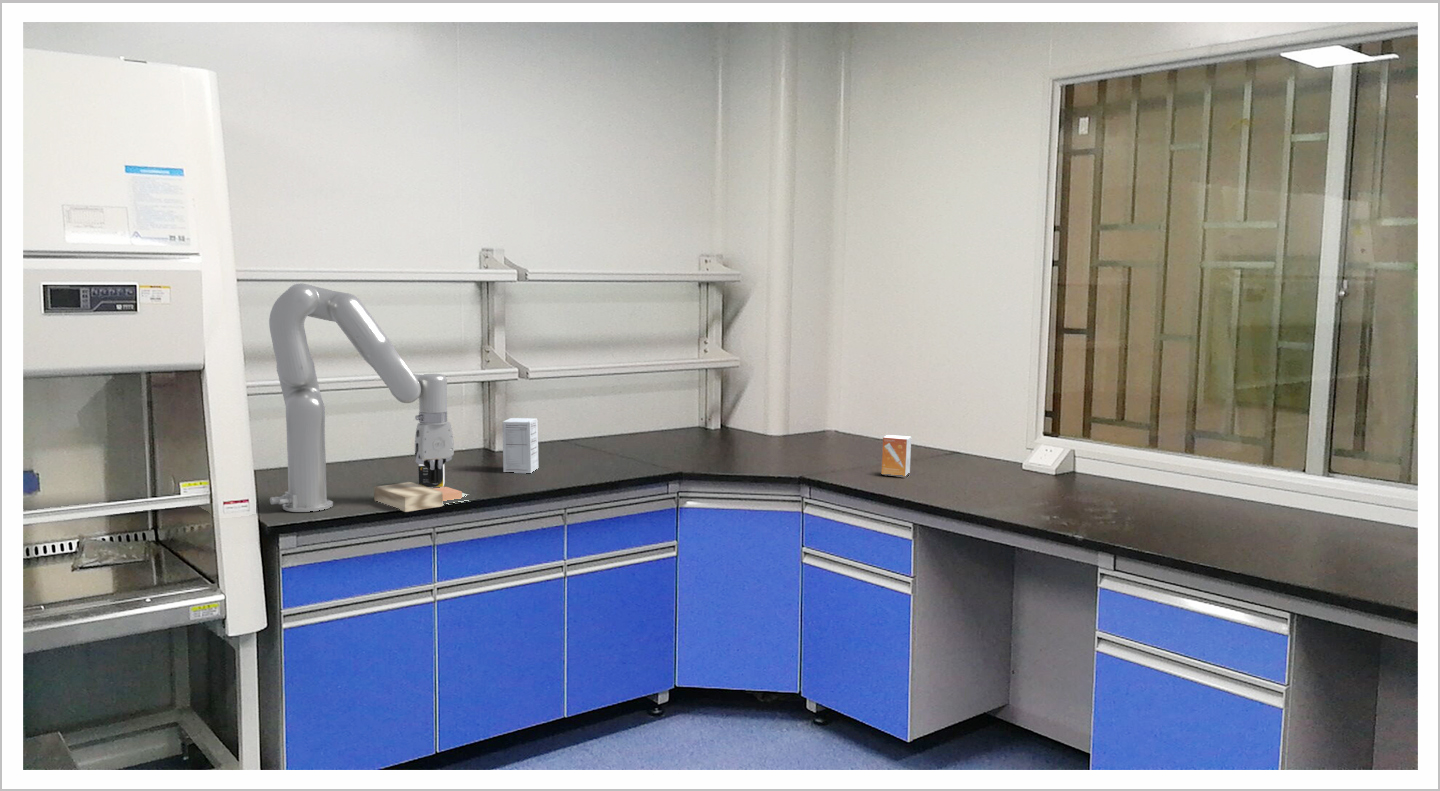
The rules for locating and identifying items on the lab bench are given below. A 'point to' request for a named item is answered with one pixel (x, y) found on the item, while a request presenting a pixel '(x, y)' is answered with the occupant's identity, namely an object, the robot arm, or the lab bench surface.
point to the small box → (896, 455)
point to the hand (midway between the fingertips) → (434, 482)
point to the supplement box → (520, 445)
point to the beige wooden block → (408, 496)
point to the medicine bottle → (424, 477)
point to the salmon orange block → (449, 493)
